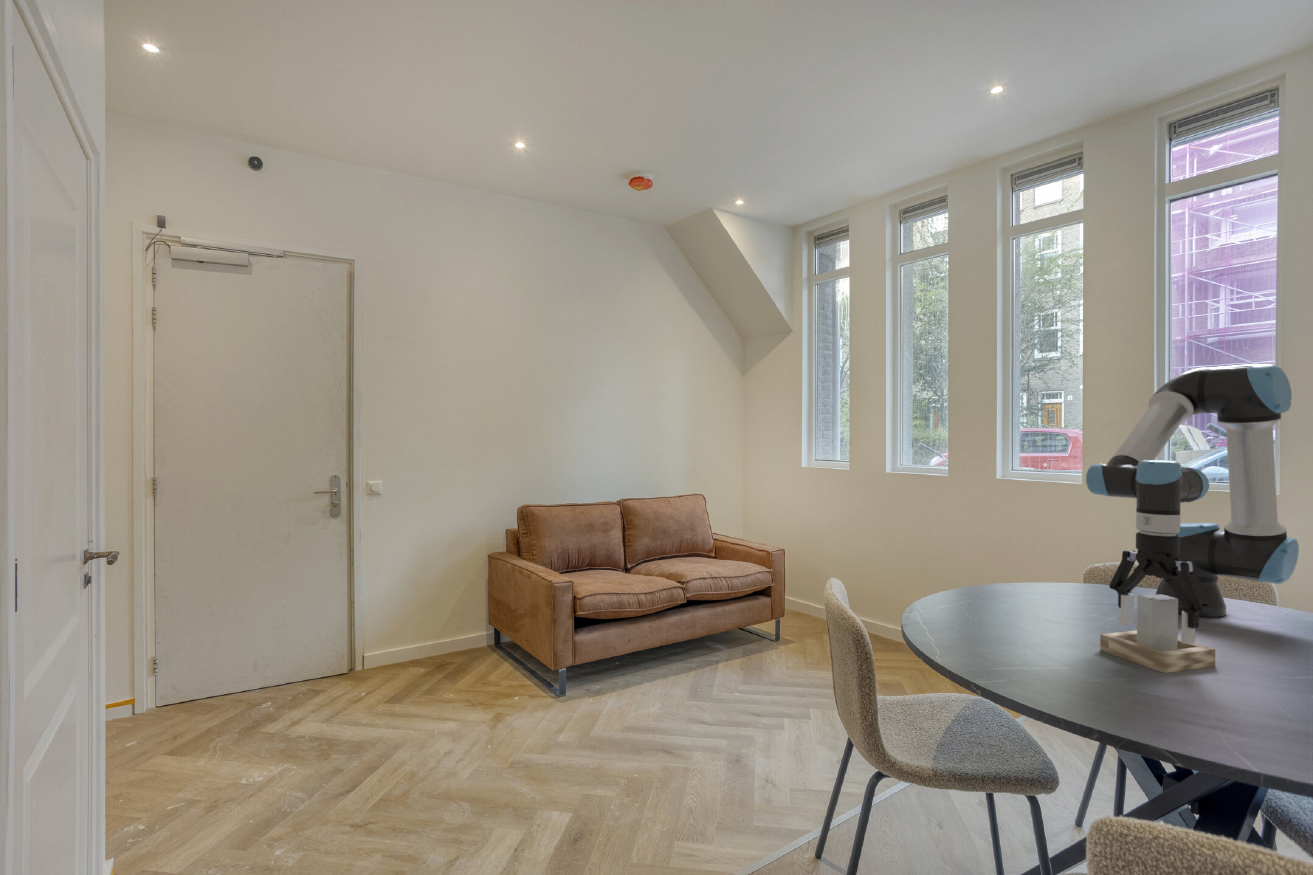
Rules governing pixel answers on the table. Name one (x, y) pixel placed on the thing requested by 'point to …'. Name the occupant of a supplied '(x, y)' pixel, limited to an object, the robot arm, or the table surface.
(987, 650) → the table surface
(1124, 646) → the holder
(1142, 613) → the skincare box
